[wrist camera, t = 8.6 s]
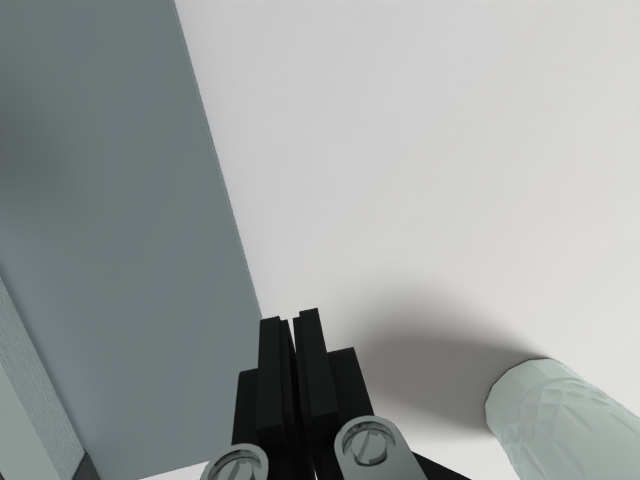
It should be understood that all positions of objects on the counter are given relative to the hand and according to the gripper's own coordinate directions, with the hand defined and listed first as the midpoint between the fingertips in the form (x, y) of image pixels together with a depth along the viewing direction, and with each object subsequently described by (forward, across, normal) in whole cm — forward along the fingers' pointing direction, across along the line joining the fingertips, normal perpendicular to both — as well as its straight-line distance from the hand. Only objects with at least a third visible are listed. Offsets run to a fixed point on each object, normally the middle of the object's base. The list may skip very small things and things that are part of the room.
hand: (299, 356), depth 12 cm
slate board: (+11, +13, 0) cm, 17 cm away
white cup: (+11, -14, +16) cm, 24 cm away
